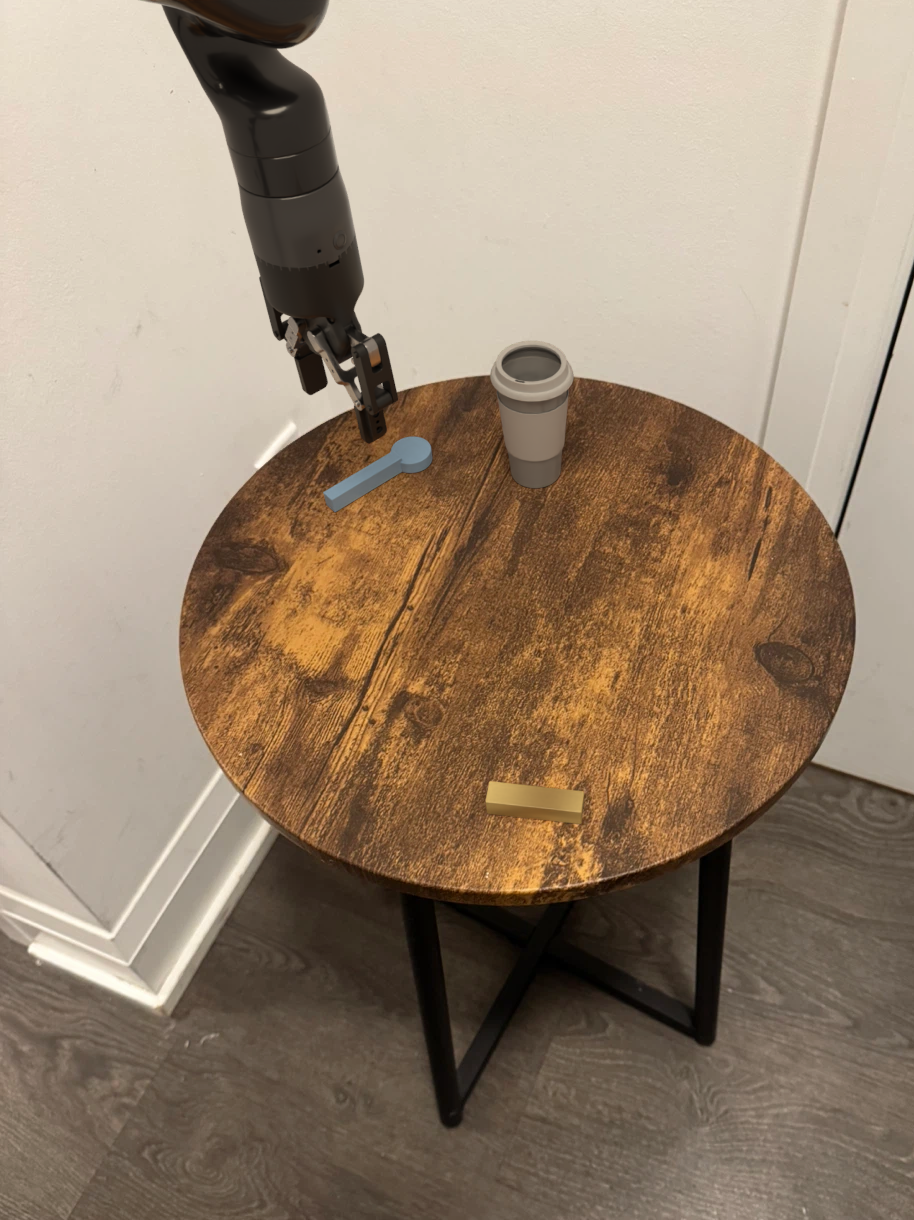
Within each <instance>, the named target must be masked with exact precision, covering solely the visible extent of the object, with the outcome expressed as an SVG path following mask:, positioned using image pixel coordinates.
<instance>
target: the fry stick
mask: <svg viewBox="0 0 914 1220" xmlns="http://www.w3.org/2000/svg"><path fill="white" fill-rule="evenodd" d="M484 802H485V810H486V814H488V815H494V816H503V817H511V818H512V817H514V818H521V819H530V820H531V819H532V820H538V821H539V820H540V821H549V822H557V823H558V822H559V823H565V824H566V823H567V824H576V825H577V824H578V825H582V822H583V817H584V816H583V815H584V810H585V809H584V808H585V791H583V790H575V789H566V788H558V787H557V788H556V787H548V786H547V787H546V786H540V785H539V786H538V785H531V784H530V785H529V784H520V783H511V782H502V781H501V782H500V781H492V780H490V781H489V782H488V786H487V791H486V796H485V801H484Z"/></svg>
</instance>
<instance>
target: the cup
mask: <svg viewBox="0 0 914 1220" xmlns="http://www.w3.org/2000/svg"><path fill="white" fill-rule="evenodd" d="M574 374H575V373H574V370H573V367H572V365H571V363H570V362H569V360H568V359H567V357H566V355H565V353H564V352H563V351H562V350H561V349H560V348H559V347H558V346H556V345H554V344H551V343H549V342H546V341H542V340H524V341H519V342H514V343H513V344H512V343H511V344H510V345H508V346H506V347H505V348H503V349H502V350H501V351H500V352H499V354H497V357H496V360H495V361H494V363H493V364H492V366H491V369H490V374H489V378H490V382H491V385H492V386H493V388H494V389H495V390H496V397H497V403H498V409H499V410H498V411H499V416H500V423H501V428H502V433H503V440H504V445H505V448H506V451H507V455H508V461H509V468H510V475H511V477H512V479H513V480H514V482H516V483H517V484H519V485H520V486H522V487H524V488H527V489H542V488H546V487H548V486H551V485H552V484H554V483H555V482H556V481H557V480H558V479H559V478H560V476H561V471H562V460H563V459H562V458H563V449H564V447H565V440H566V429H567V417H568V404H569V393H570V392H569V388H570V387H571V386H572V384H573V382H574Z"/></svg>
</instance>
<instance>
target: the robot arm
mask: <svg viewBox="0 0 914 1220" xmlns="http://www.w3.org/2000/svg"><path fill="white" fill-rule="evenodd" d="M138 1H139V2H145V3H151V4H156V5H161V8H162V11H163V13H164V15H165V18H166V19H167V23H168V24H169V26H170V29H171V31H172V32H173V34H174V37H175V38H176V40H177V42H178V44H179V46H180V48H181V50H182V51H183V54H184V55H185V57H186V59H187V62H188V64H189V65H190V68H191V69H192V71H193V73H194V75H195V77H196V79H197V81H198V82H199V84H200V87H201V88H202V90H203V92H204V93H205V95H206V97H207V99H208V100H209V102H210V103H211V105H212V107H213V109H214V111H215V112H216V114H217V115H218V118H219V120H220V122H221V127H222V131H223V135H224V138H225V142H226V146H227V150H228V153H229V157H230V160H231V161H230V162H231V164H232V167H233V171H234V175H235V178H236V182H237V186H238V187H237V188H238V192H239V199H240V207H241V212H242V216H243V220H244V224H245V227H246V231H247V234H248V237H249V241H250V244H251V249H252V252H253V256H254V260H255V263H256V266H257V269H258V272H259V277H258V280H259V284H260V288H261V292H262V296H263V300H264V303H265V307H266V311H267V316H268V320H269V323H270V328H271V331H272V334H273V336H274V337H275V339H276V340H277V341H278V342H281V341H283V340H284V341H285V342H286V343H285V348H286V350H287V351H286V352H287V353H288V354H289V355H290V357H292V358H293V360H294V363H295V367H296V371H297V374H298V377H299V382H300V385H301V389H302V391H303V392H304V393H306V394H307V395H308V396H313V395H315V394H316V393H318V392H320V391H322V390H324V389H326V388H327V386H328V384H329V380H328V376H327V372H326V369H325V366H326V368H327V370H328V372H329V373H330V375H331V377H332V378H333V380H334V382H335V383H336V384H337V385H339V386H343V387H344V388H345V390H346V392H347V394H348V396H349V397H350V400H351V401H352V403H353V409H354V413H355V418H356V423H357V427H358V431H359V435H360V439H361V440H362V441H364V442H365V443H366V444H367V445H369V444H372V443H374V442H375V441H377V440H379V439H381V438H383V437H384V436H385V435H386V434H387V430H388V428H387V423H386V418H385V412H384V409H385V408H387V407H389V406H391V405H393V404H395V403H396V402H398V401H399V396H398V391H397V386H396V380H395V377H394V373H393V372H394V371H393V369H392V363H391V358H390V354H389V349H388V346H387V341H386V339H385V337H384V336H383V335H382V334H381V333H380V332H377V333H376V334H374V335H372V336H368V335H367V334H365V333H364V332H363V329H362V325H361V323H360V322H359V319H358V317H357V314H356V312H355V308H356V305H357V302H358V301H359V298H360V296H361V295H362V293H363V290H364V287H365V277H364V271H363V266H362V260H361V255H360V249H359V246H358V240H357V235H356V234H357V233H356V229H355V224H354V219H353V214H352V210H351V202H350V199H349V195H348V191H347V188H346V184H345V181H344V179H343V176H342V173H341V169H340V166H339V161H338V155H337V150H336V147H335V146H336V145H335V140H334V136H333V131H332V130H333V129H332V125H331V120H330V114H329V109H328V106H327V101H326V98H325V95H324V92H323V90H322V88H321V86H320V84H319V83H318V82H317V80H316V79H315V78H314V77H313V76H312V75H311V74H310V73H309V72H307V71H306V70H304V69H303V68H301V67H299V66H298V65H296V64H295V63H294V62H292V61H291V60H289V58H287V57H285V56H284V55H283V54H282V53H281V52H280V51H279V50H285V49H286V50H287V49H291V48H294V47H297V46H299V45H301V44H303V43H304V42H306V41H307V40H309V39H310V38H311V37H312V36H313V35H314V34H315V33H316V32H317V31H318V29H319V28H320V27H321V25H322V23H323V22H324V19H325V17H326V15H327V12H328V8H329V5H330V0H138ZM283 315H285V316H288V318H287V319H285V320H283V321H282V317H283ZM348 360H350V362H351V363H352V365H353V366H352V367H350V368H348V369H346V370H345V369H343V368H342V367H341V364H343V363H344V362H346V361H348ZM356 378H357V380H358V385H359V388H360V390H359V388H358V385H357V384H356V382H355V379H356Z"/></svg>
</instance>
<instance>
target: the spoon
mask: <svg viewBox="0 0 914 1220" xmlns="http://www.w3.org/2000/svg"><path fill="white" fill-rule="evenodd" d="M432 462H433V450H432V446H431V444H430V442H429V441H428V440H427V439H425V438H423V437H421V436H406V437H402V438H400V439H398V440H397V441H395V442H394V443H393V445H392V446H391V449H390V452H388V453H387V454H385V455H384V456H381V457H380V458H378V459H377V460H375V461H373V462H371V463H370V464H368V465H366V466H365V467H363V468H361V469H360V470H357V472H354V473H353V474H351V475H350V476H348V477H346V478H344V479H343V480H341V481H339V482H338V483H335V485H332V486H331V487H329V488H328V489H326V490H324V491H323V492H322V493H323V497H324V501H325V505H326V506H327V507H328V508H329V509H330V510H331V511H332V512H334V513H337V512H339V511H340V510H342V509H343V508H345V507H346V506H349V505H350V504H351V503H353V502H355V501H356V500H358V499H360V498H361V497H363V496H365V495H367V494H368V493H370V492H371V491H373V490H375V489H376V488H378V487H380V486H381V485H383V484H384V483H385V484H386V482H388V481H390V480H391V479H393V478H394V477H396V476H399V475H400V474H402V473H404V474H417V473H420V472H423V471H425V470H426V469H427V468H428V467H429V466H430V465H431V464H432Z"/></svg>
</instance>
